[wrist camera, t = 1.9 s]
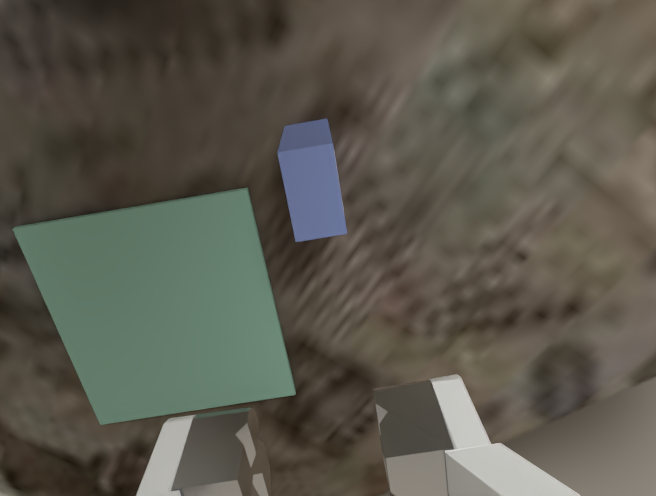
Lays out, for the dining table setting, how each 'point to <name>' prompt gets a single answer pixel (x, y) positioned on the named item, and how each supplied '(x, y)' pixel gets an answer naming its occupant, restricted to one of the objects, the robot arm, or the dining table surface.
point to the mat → (163, 305)
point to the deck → (311, 180)
